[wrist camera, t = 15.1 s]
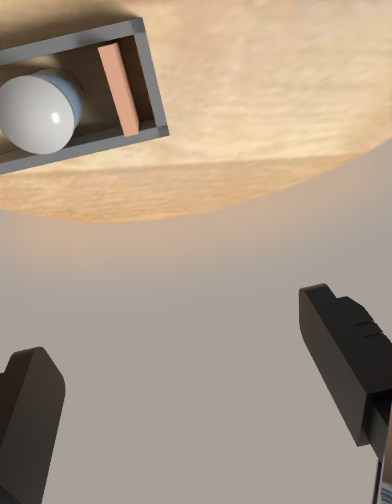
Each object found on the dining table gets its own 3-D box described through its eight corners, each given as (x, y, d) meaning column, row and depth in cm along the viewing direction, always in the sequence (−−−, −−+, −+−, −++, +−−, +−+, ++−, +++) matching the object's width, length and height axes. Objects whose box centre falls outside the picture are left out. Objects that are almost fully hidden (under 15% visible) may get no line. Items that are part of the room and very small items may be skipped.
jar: (13, 74, 32) (-22, 86, 25) (74, 60, 32) (55, 68, 25) (41, 136, 35) (16, 161, 28) (96, 123, 35) (84, 145, 28)
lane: (-90, 72, 31) (-118, 77, 27) (142, 18, 31) (142, 17, 27) (-31, 171, 36) (-49, 186, 33) (167, 125, 36) (169, 135, 33)
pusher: (105, 44, 31) (97, 47, 26) (118, 42, 31) (112, 44, 26) (127, 121, 35) (125, 137, 30) (139, 119, 35) (138, 134, 30)
